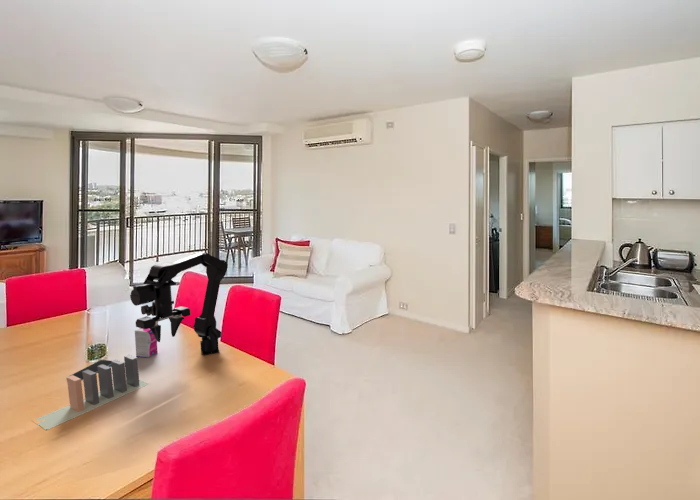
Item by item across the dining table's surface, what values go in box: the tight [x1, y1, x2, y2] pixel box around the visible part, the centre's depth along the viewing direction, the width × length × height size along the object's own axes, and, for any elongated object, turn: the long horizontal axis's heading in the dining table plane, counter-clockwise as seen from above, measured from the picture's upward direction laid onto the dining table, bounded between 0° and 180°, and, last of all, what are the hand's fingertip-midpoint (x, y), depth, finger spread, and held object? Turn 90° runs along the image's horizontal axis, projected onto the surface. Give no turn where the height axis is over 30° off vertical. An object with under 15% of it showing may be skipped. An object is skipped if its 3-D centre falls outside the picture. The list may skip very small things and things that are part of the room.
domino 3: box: [97, 364, 114, 399], centre depth 121 cm, size 2×5×10 cm, turn 60°
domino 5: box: [123, 354, 140, 387], centre depth 129 cm, size 2×5×10 cm, turn 60°
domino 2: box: [82, 370, 99, 405], centre depth 118 cm, size 2×5×10 cm, turn 60°
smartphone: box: [67, 359, 112, 381], centre depth 140 cm, size 7×1×15 cm
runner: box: [36, 379, 150, 431], centre depth 119 cm, size 30×9×1 cm, turn 150°
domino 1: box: [66, 374, 84, 412], centre depth 114 cm, size 2×5×10 cm, turn 60°
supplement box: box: [134, 328, 158, 359], centre depth 153 cm, size 6×6×12 cm
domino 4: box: [110, 359, 127, 393], centre depth 125 cm, size 2×5×10 cm, turn 60°
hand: (166, 339), depth 140 cm, fingers open, 6 cm apart
